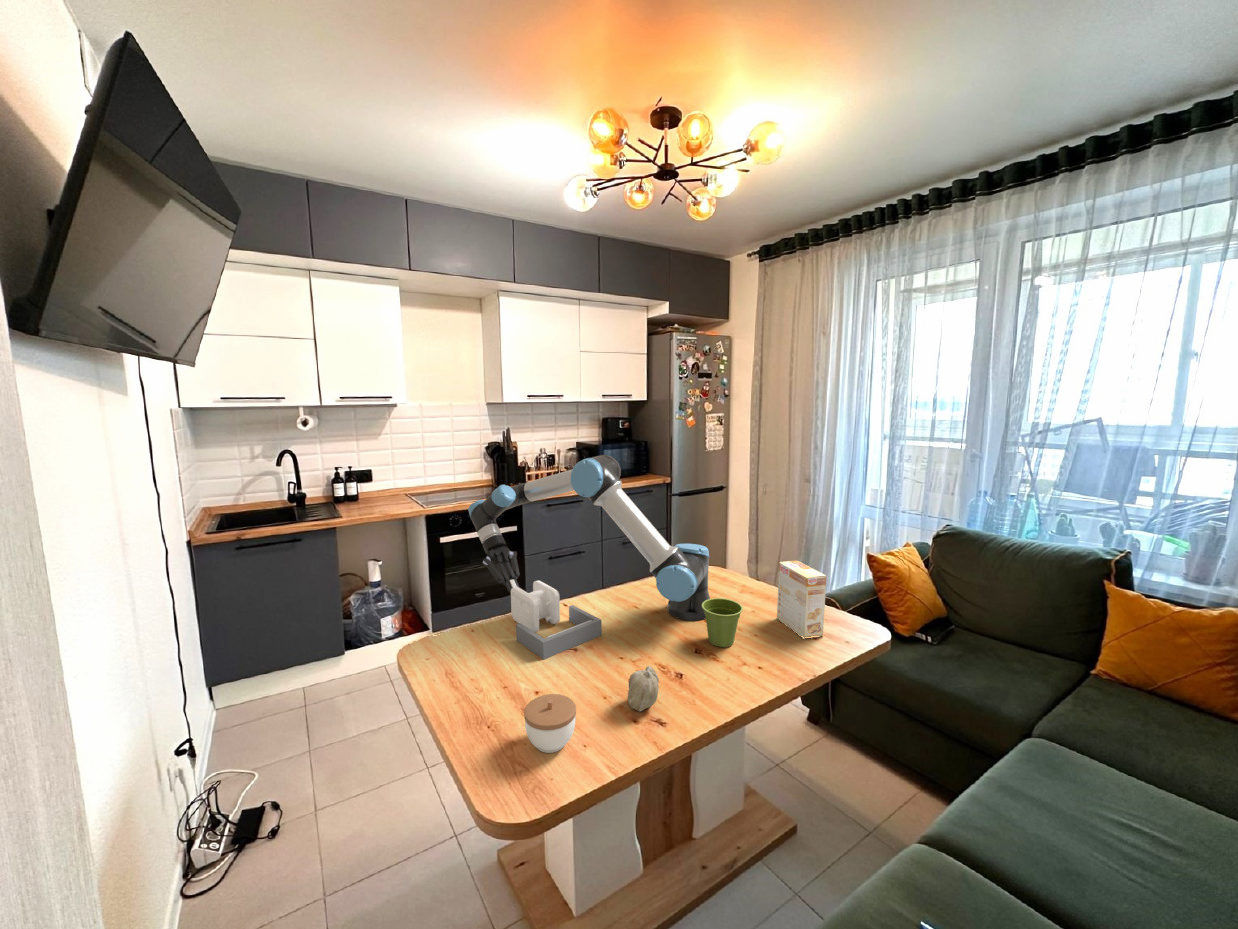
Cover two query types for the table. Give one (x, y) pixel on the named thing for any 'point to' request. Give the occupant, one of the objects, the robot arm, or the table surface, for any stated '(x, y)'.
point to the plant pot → (721, 620)
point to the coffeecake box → (801, 598)
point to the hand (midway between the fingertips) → (517, 598)
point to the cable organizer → (535, 605)
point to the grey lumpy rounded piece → (643, 689)
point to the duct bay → (561, 634)
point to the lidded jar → (550, 721)
